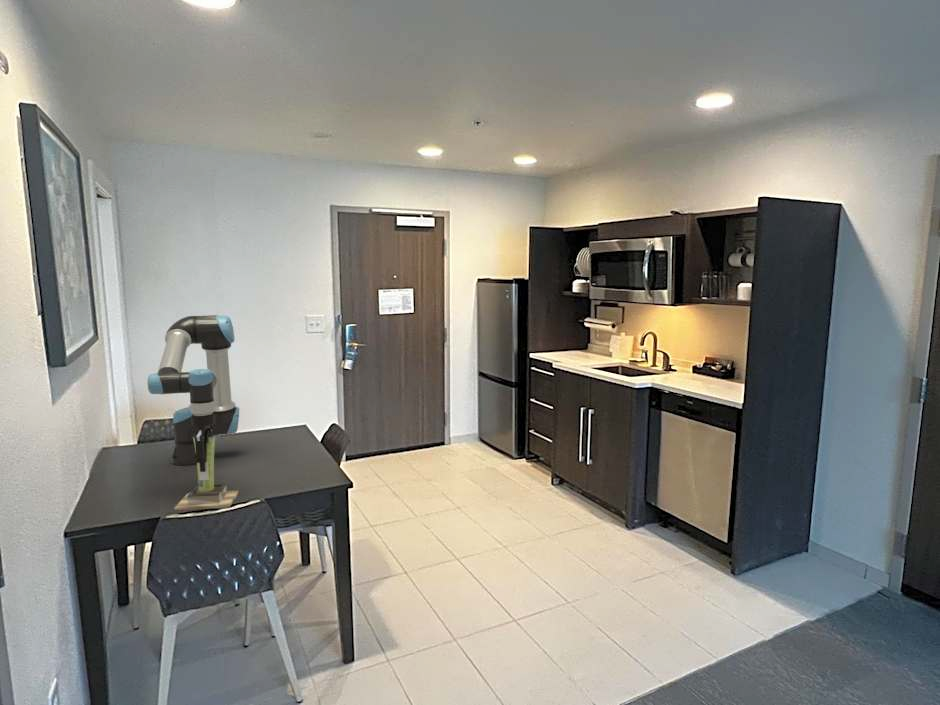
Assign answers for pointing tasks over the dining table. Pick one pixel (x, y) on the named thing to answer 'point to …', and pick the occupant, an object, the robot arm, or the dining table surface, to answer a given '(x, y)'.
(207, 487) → the tube
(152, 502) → the dining table surface
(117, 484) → the dining table surface
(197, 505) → the collar board
